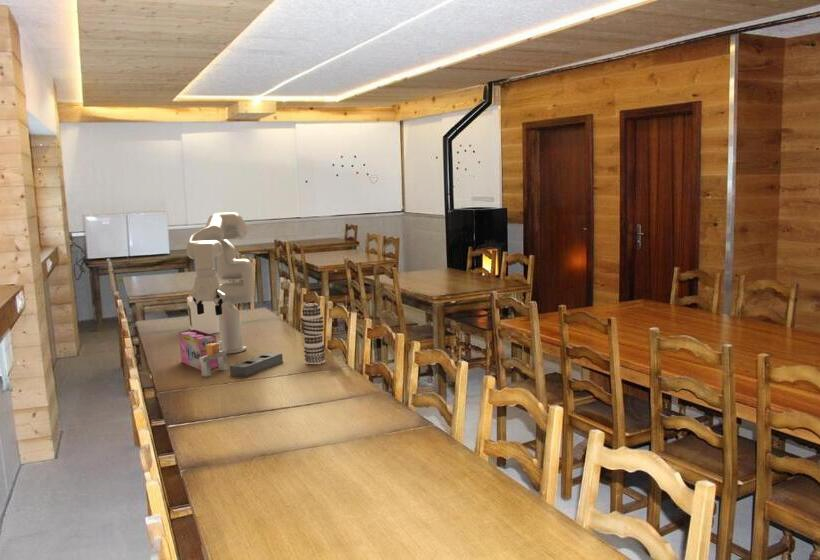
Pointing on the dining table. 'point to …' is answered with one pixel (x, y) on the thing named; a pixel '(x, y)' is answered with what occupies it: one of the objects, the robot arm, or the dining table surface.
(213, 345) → the clip
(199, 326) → the gable box
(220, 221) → the robot arm
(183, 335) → the gum box
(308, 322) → the decorative candle
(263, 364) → the grey block with holes
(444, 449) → the dining table surface
